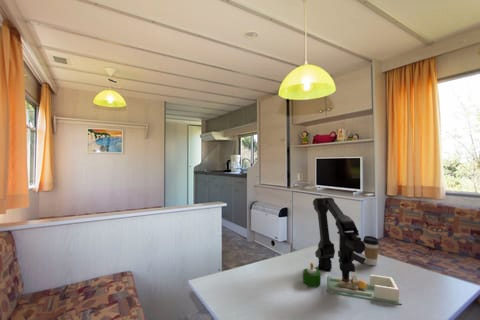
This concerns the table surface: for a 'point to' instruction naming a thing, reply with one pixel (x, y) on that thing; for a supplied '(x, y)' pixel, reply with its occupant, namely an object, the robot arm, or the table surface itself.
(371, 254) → the coffee cup
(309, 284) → the candle
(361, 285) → the ball
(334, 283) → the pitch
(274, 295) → the table surface
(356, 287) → the kicker
